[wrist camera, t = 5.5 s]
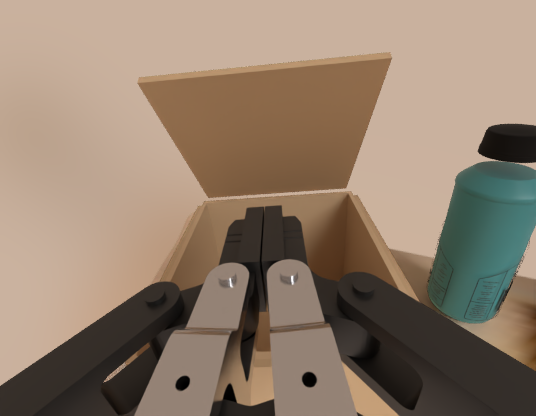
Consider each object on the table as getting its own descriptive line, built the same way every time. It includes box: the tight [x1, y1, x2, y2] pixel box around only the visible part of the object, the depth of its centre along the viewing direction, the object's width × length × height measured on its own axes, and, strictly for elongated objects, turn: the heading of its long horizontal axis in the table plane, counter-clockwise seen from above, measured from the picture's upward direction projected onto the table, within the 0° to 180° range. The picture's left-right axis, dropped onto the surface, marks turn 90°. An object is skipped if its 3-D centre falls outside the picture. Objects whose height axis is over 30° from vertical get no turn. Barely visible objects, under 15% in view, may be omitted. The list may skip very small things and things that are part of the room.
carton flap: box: [138, 52, 392, 198], centre depth 23 cm, size 15×15×1 cm
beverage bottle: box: [427, 124, 536, 323], centre depth 25 cm, size 6×7×20 cm
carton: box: [125, 191, 420, 416], centre depth 24 cm, size 17×18×13 cm
